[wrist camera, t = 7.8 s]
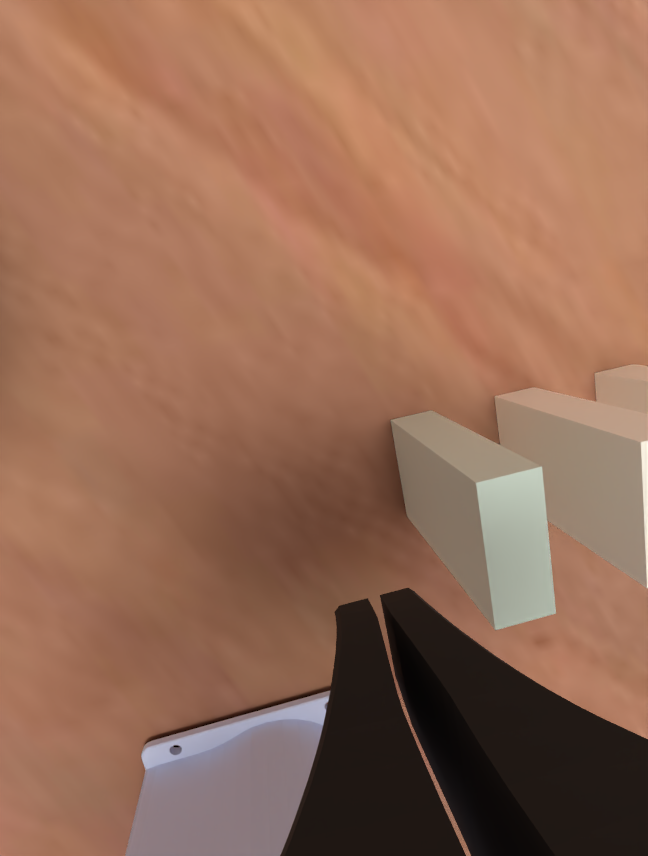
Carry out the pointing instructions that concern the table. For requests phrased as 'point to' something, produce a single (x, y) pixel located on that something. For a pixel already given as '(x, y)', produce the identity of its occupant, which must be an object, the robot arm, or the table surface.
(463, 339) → the table surface
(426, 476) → the domino
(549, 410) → the domino
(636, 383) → the domino
